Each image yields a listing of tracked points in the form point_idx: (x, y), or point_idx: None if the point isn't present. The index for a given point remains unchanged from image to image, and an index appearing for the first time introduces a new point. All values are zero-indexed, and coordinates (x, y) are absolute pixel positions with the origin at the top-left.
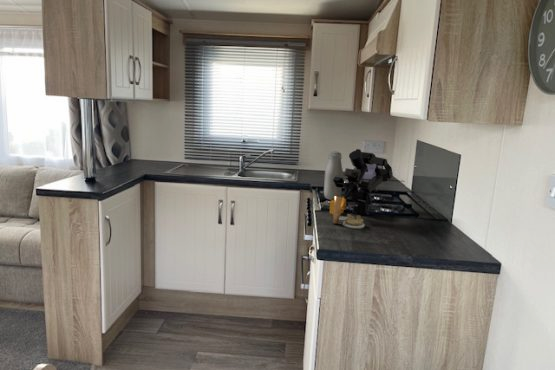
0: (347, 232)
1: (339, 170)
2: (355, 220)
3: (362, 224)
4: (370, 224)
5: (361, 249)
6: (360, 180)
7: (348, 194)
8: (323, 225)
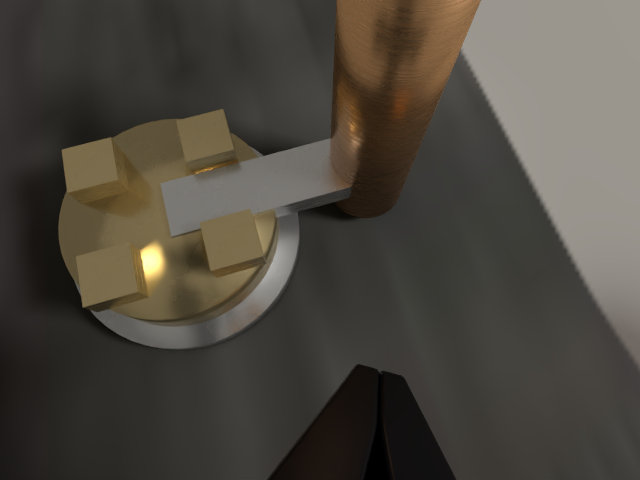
0: (208, 30)
1: None
2: (143, 146)
3: None
4: (17, 402)
5: None
6: None
7: (291, 464)
8: None
